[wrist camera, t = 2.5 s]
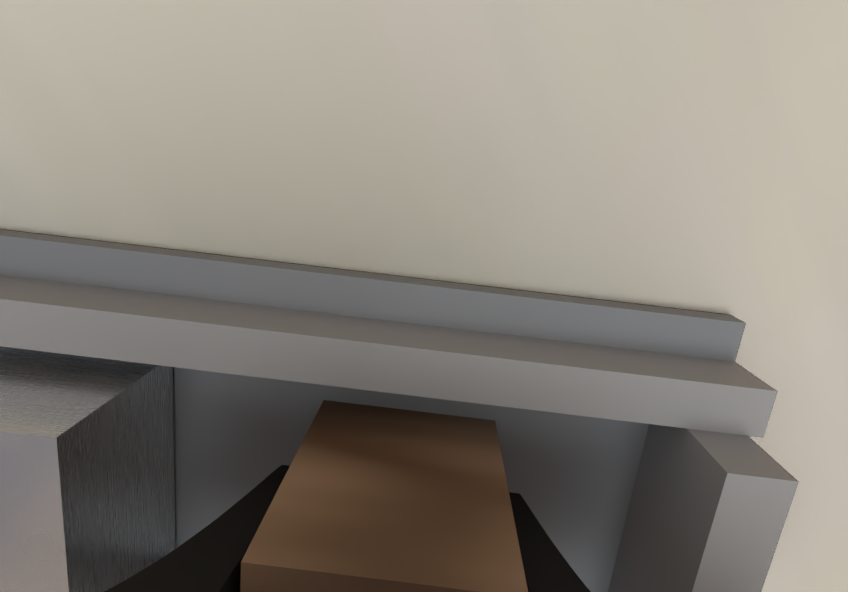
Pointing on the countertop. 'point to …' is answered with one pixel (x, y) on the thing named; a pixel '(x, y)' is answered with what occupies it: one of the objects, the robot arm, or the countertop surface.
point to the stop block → (389, 508)
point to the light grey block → (83, 470)
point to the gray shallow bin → (437, 392)
